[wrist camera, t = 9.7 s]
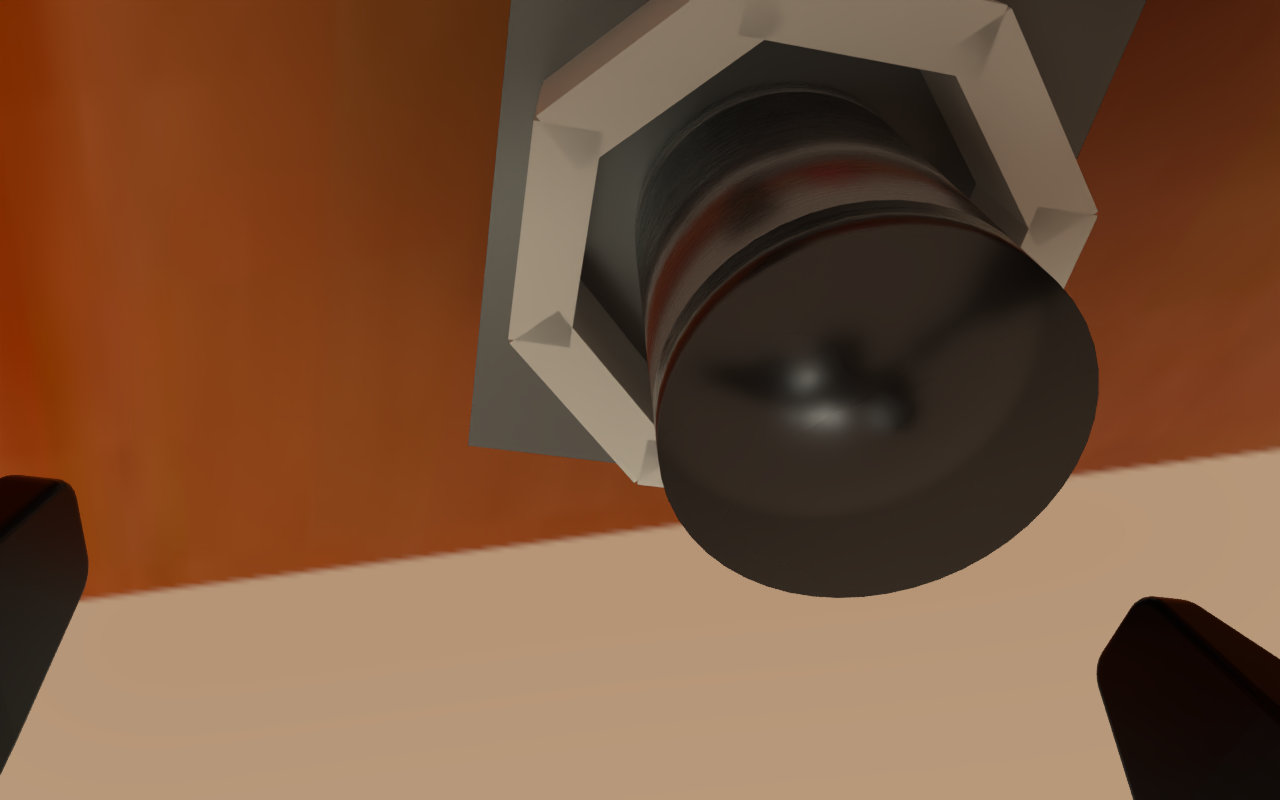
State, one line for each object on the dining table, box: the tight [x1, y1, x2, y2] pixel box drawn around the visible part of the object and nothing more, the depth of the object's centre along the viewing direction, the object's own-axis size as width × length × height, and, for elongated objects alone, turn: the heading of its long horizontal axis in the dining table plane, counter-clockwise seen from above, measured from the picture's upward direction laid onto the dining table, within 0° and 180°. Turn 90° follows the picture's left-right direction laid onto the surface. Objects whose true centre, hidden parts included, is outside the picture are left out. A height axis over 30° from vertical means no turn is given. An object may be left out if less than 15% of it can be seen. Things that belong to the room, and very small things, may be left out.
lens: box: [635, 82, 1098, 598], centre depth 12 cm, size 5×5×6 cm
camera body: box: [468, 0, 1146, 488], centre depth 15 cm, size 9×12×6 cm
